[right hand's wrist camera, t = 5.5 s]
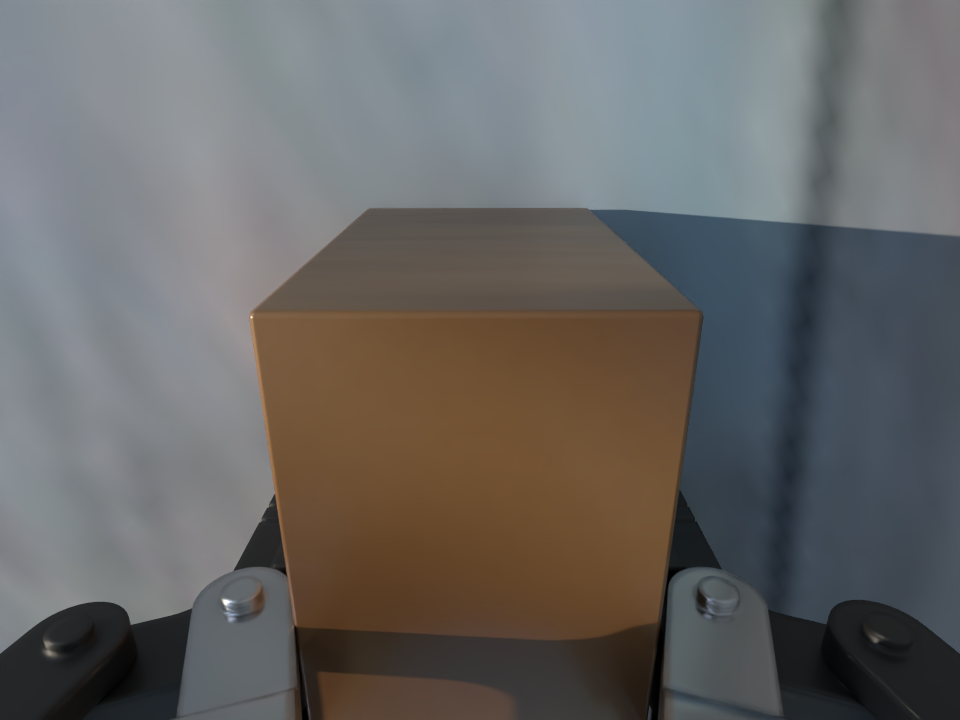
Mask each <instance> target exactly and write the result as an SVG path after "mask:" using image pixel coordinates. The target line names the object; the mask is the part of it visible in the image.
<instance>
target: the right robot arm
mask: <svg viewBox="0 0 960 720" xmlns="http://www.w3.org/2000/svg"><path fill="white" fill-rule="evenodd" d="M650 707H651V712H650V719H649V720H960V654H959V653H958V652H957V651H955V650H954V649H953V648H952V647H951V646H949V645H948V644H947V643H946V642H944V641H943V640H942V639H941V638H939V637H938V636H937V635H936V634H934V633H933V632H932V631H931V630H929V629H928V628H927V627H926V626H924V625H923V624H922V623H920V622H919V621H918V620H916V619H914V618H913V617H911V616H909V615H908V614H906V613H904V612H902V611H900V610H898V609H895V608H893V607H890V606H887V605H884V604H881V603H877V602H872V601H865V600H850V601H845V602H842V603H839V604H838V605H836V606H834V608H833V609H832V610H831V612H830V614H829V618H828V621H827V625H826V624H822V623H818V622H813V621H809V620H805V619H801V618H796V617H792V616H788V615H784V614H780V613H777V612H774V611H771V610H768V608H767V604H766V602H765V600H764V598H763V597H762V595H761V594H760V593H759V591H758V590H757V589H756V588H755V587H754V586H752V585H751V584H750V583H748V582H747V581H746V580H744V579H742V578H741V577H739V576H737V575H735V574H732V573H730V572H727V571H724V570H722V569H721V567H720V565H719V563H718V561H717V559H716V558H715V556H714V554H713V552H712V550H711V548H710V546H709V544H708V542H707V540H706V539H705V537H704V535H703V533H702V531H701V529H700V527H699V525H698V523H697V522H695V518H694V516H693V514H692V512H691V510H690V508H689V507H687V502H686V501H685V499H684V497H683V495H682V493H681V491H680V489H679V495H678V503H677V510H676V517H675V524H674V531H673V539H672V546H671V553H670V560H669V567H668V574H667V582H666V589H665V596H664V603H663V610H662V618H661V625H660V632H659V639H658V646H657V653H656V661H655V668H654V675H653V682H652V689H651V697H650ZM0 720H308V714H307V708H306V701H305V694H304V687H303V680H302V674H301V667H300V660H299V653H298V646H297V639H296V633H295V626H294V619H293V612H292V605H291V599H290V592H289V585H288V578H287V571H286V564H285V558H284V551H283V544H282V537H281V530H280V524H279V517H278V510H277V503H276V496H275V494H274V496H273V498H272V500H271V502H270V504H269V508H267V509H266V511H265V513H264V515H263V517H262V521H261V522H259V524H258V526H257V528H256V530H255V532H254V534H253V536H252V537H251V539H250V541H249V543H248V545H247V547H246V549H245V550H244V552H243V554H242V556H241V558H240V560H239V562H238V564H237V565H236V567H235V569H234V571H233V572H230V573H228V574H225V575H223V576H221V577H219V578H218V579H216V580H214V581H213V582H212V583H210V584H209V585H208V586H206V587H205V588H204V589H203V590H202V591H201V593H200V594H199V595H198V597H197V598H196V600H195V602H194V604H193V608H192V609H189V610H187V611H184V612H182V613H178V614H175V615H171V616H167V617H163V618H159V619H155V620H150V621H146V622H142V623H138V624H133V625H131V624H130V620H129V617H128V614H127V612H126V611H125V610H124V608H122V607H121V606H119V605H116V604H114V603H109V602H91V603H85V604H80V605H76V606H73V607H70V608H67V609H65V610H62V611H60V612H58V613H56V614H54V615H52V616H50V617H48V618H46V619H45V620H43V621H41V622H40V623H39V624H37V625H36V626H34V627H33V628H32V629H30V630H29V631H28V632H27V633H26V634H24V635H23V636H22V637H21V638H19V639H18V640H17V641H16V642H14V643H13V644H12V645H11V646H9V647H8V648H7V649H6V650H4V651H3V652H2V653H1V654H0Z"/></svg>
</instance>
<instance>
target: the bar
mask: <svg viewBox="0 0 960 720" xmlns="http://www.w3.org/2000/svg"><path fill="white" fill-rule="evenodd" d="M249 319H250V326H251V333H252V339H253V346H254V353H255V360H256V367H257V374H258V380H259V387H260V394H261V401H262V408H263V414H264V421H265V428H266V435H267V442H268V449H269V455H270V462H271V469H272V476H273V483H274V489H275V496H276V503H277V510H278V517H279V524H280V530H281V537H282V544H283V551H284V558H285V564H286V571H287V578H288V585H289V592H290V599H291V605H292V612H293V619H294V626H295V633H296V639H297V646H298V653H299V660H300V667H301V674H302V680H303V687H304V694H305V701H306V708H307V714H308V720H647V718H648V711H649V704H650V697H651V689H652V682H653V675H654V668H655V661H656V653H657V646H658V639H659V632H660V625H661V618H662V610H663V603H664V596H665V589H666V582H667V574H668V567H669V560H670V553H671V546H672V539H673V531H674V524H675V517H676V510H677V503H678V495H679V488H680V481H681V474H682V467H683V460H684V452H685V445H686V438H687V431H688V424H689V417H690V409H691V402H692V395H693V388H694V381H695V373H696V366H697V359H698V352H699V345H700V338H701V330H702V323H703V314H702V311H701V310H700V309H699V308H698V307H696V306H695V305H694V304H693V303H692V302H691V301H690V300H689V299H688V298H686V297H685V296H684V295H683V294H682V293H681V292H680V291H679V290H678V289H677V288H675V287H674V286H673V285H672V284H671V283H670V282H669V281H668V280H667V279H665V278H664V277H663V276H662V275H661V274H660V273H659V272H658V271H657V270H656V269H654V268H653V267H652V266H651V265H650V264H649V263H648V262H647V261H646V260H644V259H643V258H642V257H641V256H640V255H639V254H638V253H637V252H636V251H635V250H633V249H632V248H631V247H630V246H629V245H628V244H627V243H626V242H625V241H623V240H622V239H621V238H620V237H619V236H618V235H617V234H616V233H615V232H614V231H612V230H611V229H610V228H609V227H608V226H607V225H606V224H605V223H604V222H602V221H601V220H600V219H599V218H598V217H597V216H596V215H595V214H594V213H593V212H591V211H590V210H589V209H587V208H403V209H368V210H366V211H365V212H364V213H363V214H362V215H361V216H360V217H358V218H357V219H356V220H355V221H354V222H353V223H352V224H350V225H349V226H348V227H347V228H346V229H345V230H344V231H342V232H341V233H340V234H339V235H338V236H337V237H336V238H334V239H333V240H332V241H331V242H330V243H329V244H328V245H326V246H325V247H324V248H323V249H322V250H321V251H320V252H319V253H317V254H316V255H315V256H314V257H313V258H312V259H311V260H309V261H308V262H307V263H306V264H305V265H304V266H303V267H301V268H300V269H299V270H298V271H297V272H296V273H295V274H293V275H292V276H291V277H290V278H289V279H288V280H287V281H285V282H284V283H283V284H282V285H281V286H280V287H279V288H278V289H276V290H275V291H274V292H273V293H272V294H271V295H270V296H268V297H267V298H266V299H265V300H264V301H263V302H262V303H260V304H259V305H258V306H257V307H256V308H255V309H254V310H252V311H251V313H250V316H249Z"/></svg>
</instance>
